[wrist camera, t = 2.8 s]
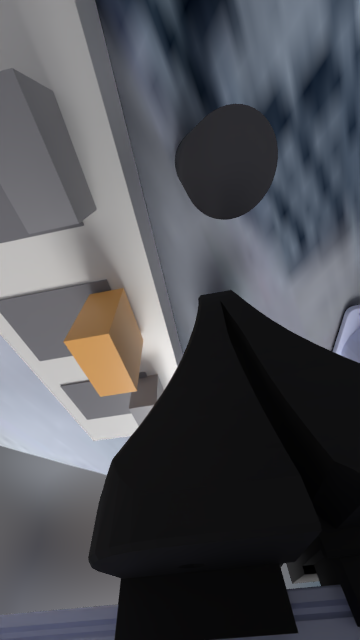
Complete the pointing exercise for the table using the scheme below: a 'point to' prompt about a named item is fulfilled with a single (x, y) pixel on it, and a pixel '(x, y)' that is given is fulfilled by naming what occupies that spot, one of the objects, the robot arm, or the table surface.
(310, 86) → the table surface
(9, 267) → the breaker panel
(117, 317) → the block
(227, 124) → the disc
